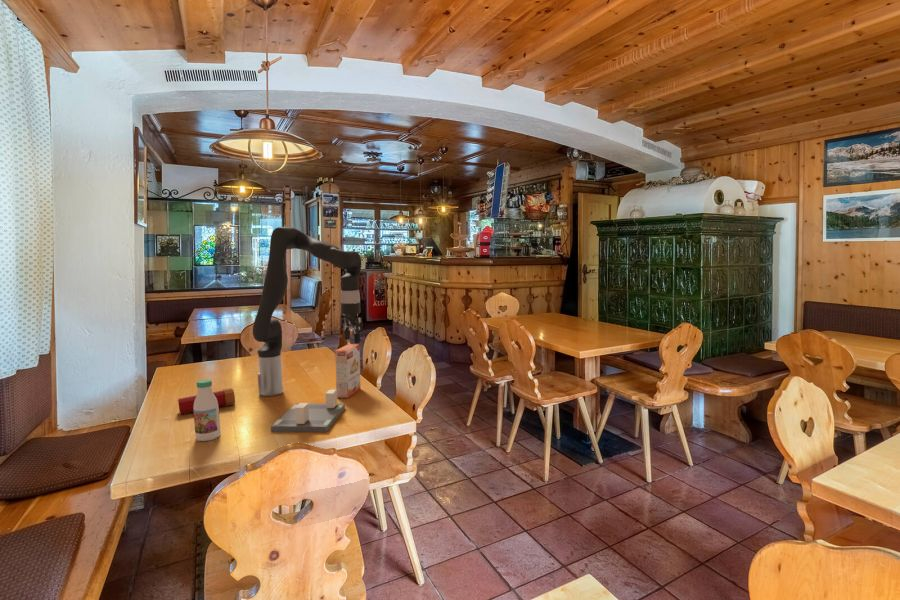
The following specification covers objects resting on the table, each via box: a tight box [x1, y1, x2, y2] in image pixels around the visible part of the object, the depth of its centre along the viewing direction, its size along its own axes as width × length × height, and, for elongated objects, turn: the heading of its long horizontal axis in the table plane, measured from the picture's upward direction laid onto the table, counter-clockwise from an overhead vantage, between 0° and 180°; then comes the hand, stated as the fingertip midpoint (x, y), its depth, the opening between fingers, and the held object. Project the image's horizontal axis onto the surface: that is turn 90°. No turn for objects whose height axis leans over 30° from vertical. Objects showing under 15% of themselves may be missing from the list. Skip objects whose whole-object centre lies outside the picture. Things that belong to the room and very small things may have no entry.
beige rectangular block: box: [295, 402, 309, 424], centre depth 171 cm, size 3×5×6 cm, turn 177°
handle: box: [325, 388, 338, 408], centre depth 187 cm, size 3×5×6 cm, turn 177°
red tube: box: [177, 387, 236, 415], centre depth 192 cm, size 7×20×7 cm, turn 124°
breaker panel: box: [270, 402, 346, 433], centre depth 180 cm, size 20×24×2 cm
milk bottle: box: [193, 379, 221, 442], centre depth 163 cm, size 8×8×20 cm
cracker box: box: [334, 343, 361, 399], centre depth 209 cm, size 14×6×21 cm, turn 168°
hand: (352, 341), depth 191 cm, fingers open, 8 cm apart
